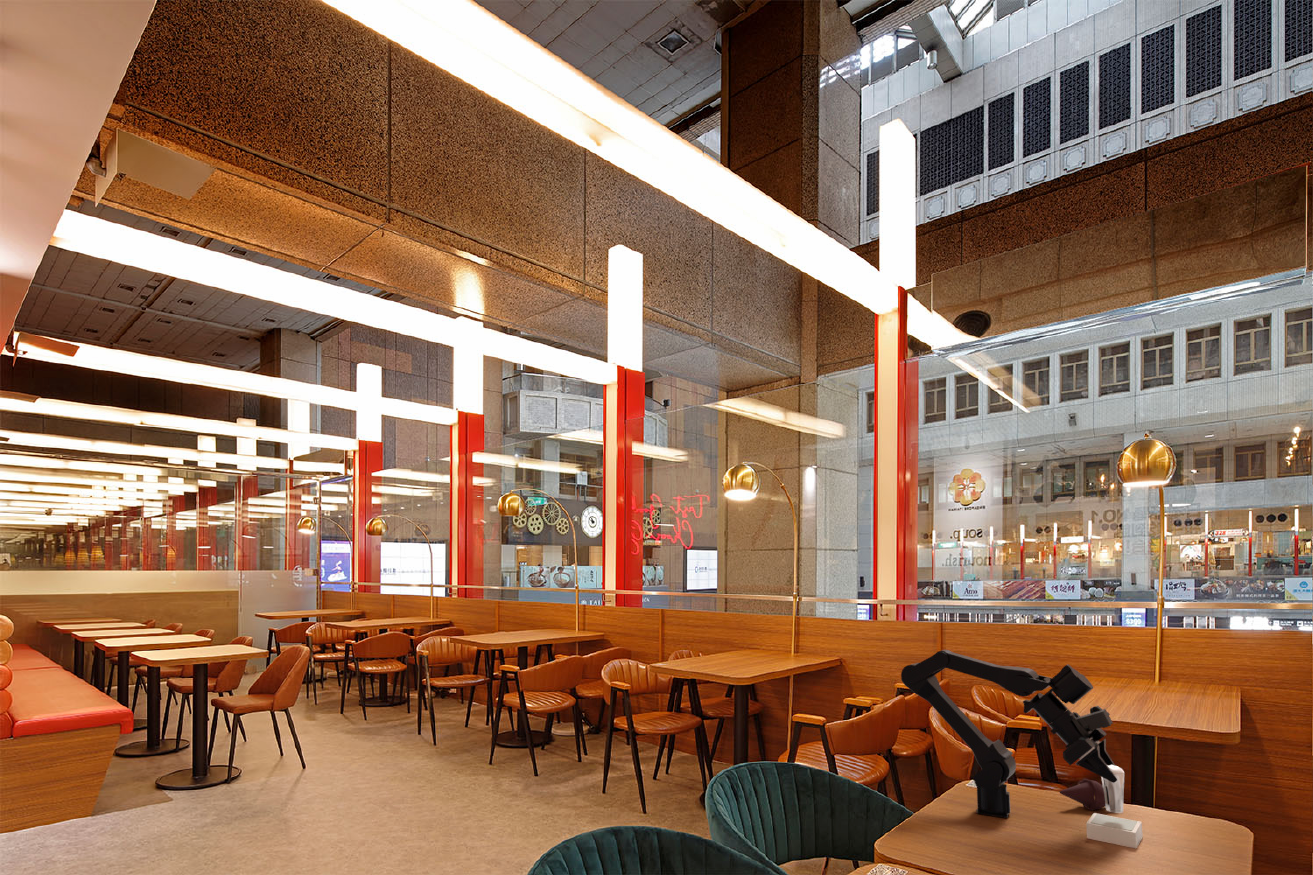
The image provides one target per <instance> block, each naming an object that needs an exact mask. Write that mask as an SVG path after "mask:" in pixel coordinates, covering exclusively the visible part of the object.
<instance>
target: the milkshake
mask: <svg viewBox="0 0 1313 875" xmlns="http://www.w3.org/2000/svg"><path fill="white" fill-rule="evenodd" d="M1107 766H1108V767H1109V768H1110V770H1111V771H1112V772H1113V774H1114V775H1115V777H1116V778H1117V781H1116V782H1115V783H1113V782H1111V781H1109V780H1107V779H1105V778H1103V777H1101V776H1100V777H1101V785H1102V786H1103V793H1104V801H1105V807H1104V808H1105V810H1106V811H1107V812H1110V813H1113V814H1114V813H1115V814H1122V813H1124V793H1125V792H1124V789H1125V771H1124V769H1123V768H1122V767H1119V766H1117V765H1115V766H1114V765H1107Z"/></svg>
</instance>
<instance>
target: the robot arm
mask: <svg viewBox="0 0 1313 875" xmlns="http://www.w3.org/2000/svg"><path fill="white" fill-rule="evenodd" d="M944 669H949V670H952V671H956V672H959V673H962V674H965V675H969V676H973V677H976V678H979V679H983V680H985V681H988V682H992V683H995V684H996V685H998V686H999V687H1001V688H1003V689H1004V690H1007V691H1008V692H1010V693H1012V694H1014V695H1017V696H1019V697H1029V696H1030V695H1032V694H1034V693H1036V692H1039V691H1041V692H1043V691H1045V690H1046V689H1048V688H1050V689H1049V690H1048V691H1047V692H1046V693H1044V694H1043V693H1041V692H1039V693H1037V694H1036V695H1035V696H1033V697H1032V698H1031V699H1024V700H1023V701H1022V703H1023V713H1024V714H1027V713H1029V712H1031V711H1032V710H1034V712H1036V713H1037V715H1038V716H1039V717H1040V718H1041V719H1042V720H1043V721H1044V722H1045V723H1046V724H1047V725H1048V726H1049V727H1050V728H1051V730H1050V732H1051V733H1052V735H1055V734H1056V735H1057V736H1058V737H1059V738H1060V739H1061V741H1062V742H1064V743H1065V745H1066V746H1065V749H1064V750H1063V751H1062V758H1063V760H1064V761H1065V762H1066V763H1067V764H1068V765H1069V766H1071V765H1074V763H1075V765H1076V766H1079V767H1081V768H1084V769H1085V770H1087V771H1090V772H1091V773H1094V774H1095V775H1097V776H1099V777H1103V778H1105V779H1107V780H1109V781H1111V782H1113V783H1115V782H1116V781H1117V778H1116V777H1115V775H1114V774H1113V772H1112V771H1111V770H1110V768H1109V767H1108V766H1107V765H1114V766H1116V764H1115V763H1114V761H1113V760H1112V757H1111V756H1110V754H1109V753H1108V751H1107V750H1106V748H1107V746H1106V744H1107V739H1106V738H1104V737H1106V735H1107V733H1106V731H1105V730H1104V729H1105V728H1108V727H1111V726H1112V724H1114V723H1113V721H1112V719H1111V717H1110V712H1108V711H1107V709H1106V708H1104V709H1103V708H1101V706H1099V705H1095V706H1092V707H1090V709H1089V713H1087V714H1084V715H1080V714H1079V713H1078V712H1075V711H1073V712H1072V711H1071V710H1070V709H1069V708H1068V707H1067V705H1065V704H1069V703H1070V704H1072V705H1075V704H1076V703H1077V702H1078V701H1080V700H1081V699H1082V698H1083V697H1085V696H1086V695H1087V694H1088V693H1090V692H1091V691H1092V690H1093V689H1094V685H1093V684H1092V682H1090V680H1089V679H1088V678H1087V677H1086V676H1085V675H1084V674H1083V673H1082V674H1081V673H1080V672H1079V671H1078V670H1077V669H1075V668H1073V667H1072V666H1071V665H1070V664H1065V665H1064V666H1063V667H1062V668H1061V669H1060V671H1059V672H1057V674H1055V676H1054V675H1053V677H1049V676H1044V675H1040V674H1038V672H1036V671H1035V670H1034V669H1032V668H1028V667H1020V666H1010V665H1009V666H1008V665H998V664H995V663H991V662H988V661H985V660H981V659H977V658H973V657H971V656H968V655H963V654H959V653H956V652H953V651H951V650H949V649H942V650H939V651H936V652H935V653H934V654H933V655H932V656H930V657H928V658H926V659H924V660H922V661H920V662H914V663H912V664H907V665H905V666H904V667H903V668H902V670H901V674H900V680H901V682H902V683H903V685H904V686H905V687H906V688H907V689H909V690H910V691H911V692H913V693H914V694H915V695H916V696H918V697H920V698H922V699H923V700H925V701H927V702H928V703H929V704H930V705H931V706H932V707H933V708H934V710H935V711H936V712H937V713H938V714H939V716H940V717H941V718H942V719H943V720H944V721H945V722H946V723H947V725H949V727H951V729H953V731H954V732H955V733H956V734H957V735H958V736H959V737H960V739H961V740H962V741H963V742H964V743H965V744H966V746H968V747H969V748H970V750H971V751H972V753H973V755H974V757H975V758H974V759H975V760H976V762H977V765H979V767H980V770H979V771H978V772H977V773H976V774H974V775H973V777H972V779H973V782H974V785H975V786H976V801H977V802H976V803H977V808H976V814H978V815H984V816H991V817H998V818H1004V819H1008V817H1009V814H1011V796H1010V795H1011V794H1010V791H1008V790H1007V786H1008V785H1007V784H1006V783H1007V782H1008V780H1009V778H1010V777H1012V775H1014V774H1015V772H1016V769H1017V763H1016V760H1015V758H1014V756H1013V755H1014V752H1012V751H1011V750H1010V749H1008V748H1007V746H1005V744H1004V743H1003V742H1002V740H1000V739H997V740H995V741H993V740H991V739H989V738H987V737H986V736H985V735H984V733H983V732H982V731H981V730H980V729H979V728H978V727H977V726H976V725H975V724H974V723H973V722H972V721H971V720H970V718H969V717H968V716H967V715H966V714H965V713H964V712H963V710H961V709H960V707H958V705H957V704H956V703H955V702H954V701H953V700H952V699H951V697H949V696H948V694H947V693H945V692H944V690H943V689H942V686H941V685H940V683H939V680H938V678H937V676H936V675H937V674H939V673H940V672H942V671H944ZM1102 738H1104V739H1103V740H1102ZM1100 740H1102V741H1100Z"/></svg>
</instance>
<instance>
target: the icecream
mask: <svg viewBox="0 0 1313 875" xmlns="http://www.w3.org/2000/svg"><path fill="white" fill-rule="evenodd" d="M1059 794H1060V795H1062V796H1065V797H1067V798H1069V799H1071V800H1073V801H1075V802H1077V803H1079V804H1082V806H1083V808H1084V809H1086V810H1088V811H1091V812H1092V811H1094V810H1101V809H1103V808H1105V801H1104V793H1103V785H1102V783H1100V782H1098V781H1097V780H1091V779H1087V778H1083V779H1081V780H1079V781H1077V785H1073V786H1071V787H1067V788H1065V789H1062V790H1060V791H1059Z"/></svg>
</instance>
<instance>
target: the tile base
mask: <svg viewBox="0 0 1313 875" xmlns="http://www.w3.org/2000/svg"><path fill="white" fill-rule="evenodd" d="M1085 824H1086V825H1085V826H1086V838H1087V839H1089V840H1094V841H1099V842H1104V843H1109V844H1112V845H1118V846H1123V847H1127V848H1132V849H1137V848H1138V847H1139V845H1140V843H1141V842H1142V841H1141V840H1142V839H1143V825H1142V824H1143V823H1142V821H1140V820H1139V821H1138V820H1135V819H1133V820H1132V819H1129V818H1128V819H1127V818H1124V817H1123V818H1122V817H1117V816H1112V815H1106V814H1101V813H1097V812H1094V813H1092V815H1091V817H1089V819H1088V820H1087V822H1086V823H1085Z"/></svg>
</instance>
